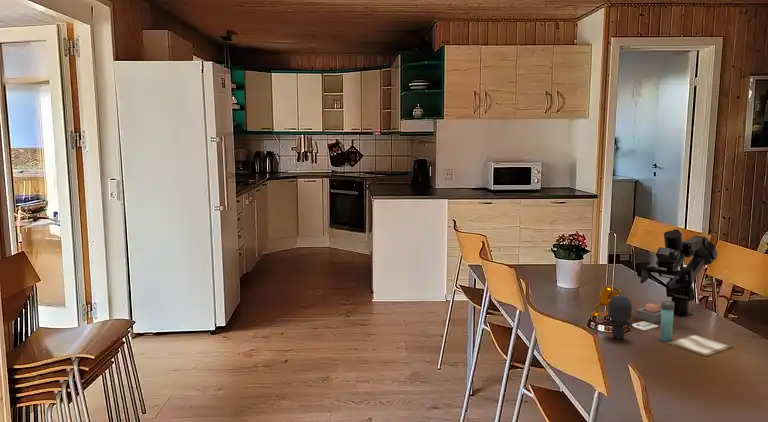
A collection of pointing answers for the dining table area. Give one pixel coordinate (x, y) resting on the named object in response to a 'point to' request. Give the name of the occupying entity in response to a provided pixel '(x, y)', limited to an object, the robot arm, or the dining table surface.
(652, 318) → the button box
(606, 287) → the figurine
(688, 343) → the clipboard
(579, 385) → the dining table surface
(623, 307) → the toy
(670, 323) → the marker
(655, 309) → the button
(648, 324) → the card
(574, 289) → the dining table surface
